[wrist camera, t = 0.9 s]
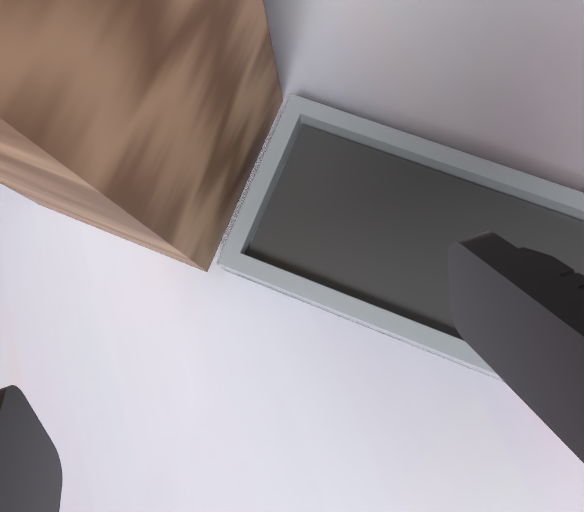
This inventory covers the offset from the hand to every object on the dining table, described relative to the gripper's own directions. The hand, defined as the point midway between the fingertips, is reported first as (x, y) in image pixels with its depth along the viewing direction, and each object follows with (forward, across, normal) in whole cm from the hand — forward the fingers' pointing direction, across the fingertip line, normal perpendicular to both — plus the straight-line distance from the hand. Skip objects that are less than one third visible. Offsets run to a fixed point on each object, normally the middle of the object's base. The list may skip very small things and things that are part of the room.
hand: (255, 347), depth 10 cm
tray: (+16, -13, +11) cm, 24 cm away
